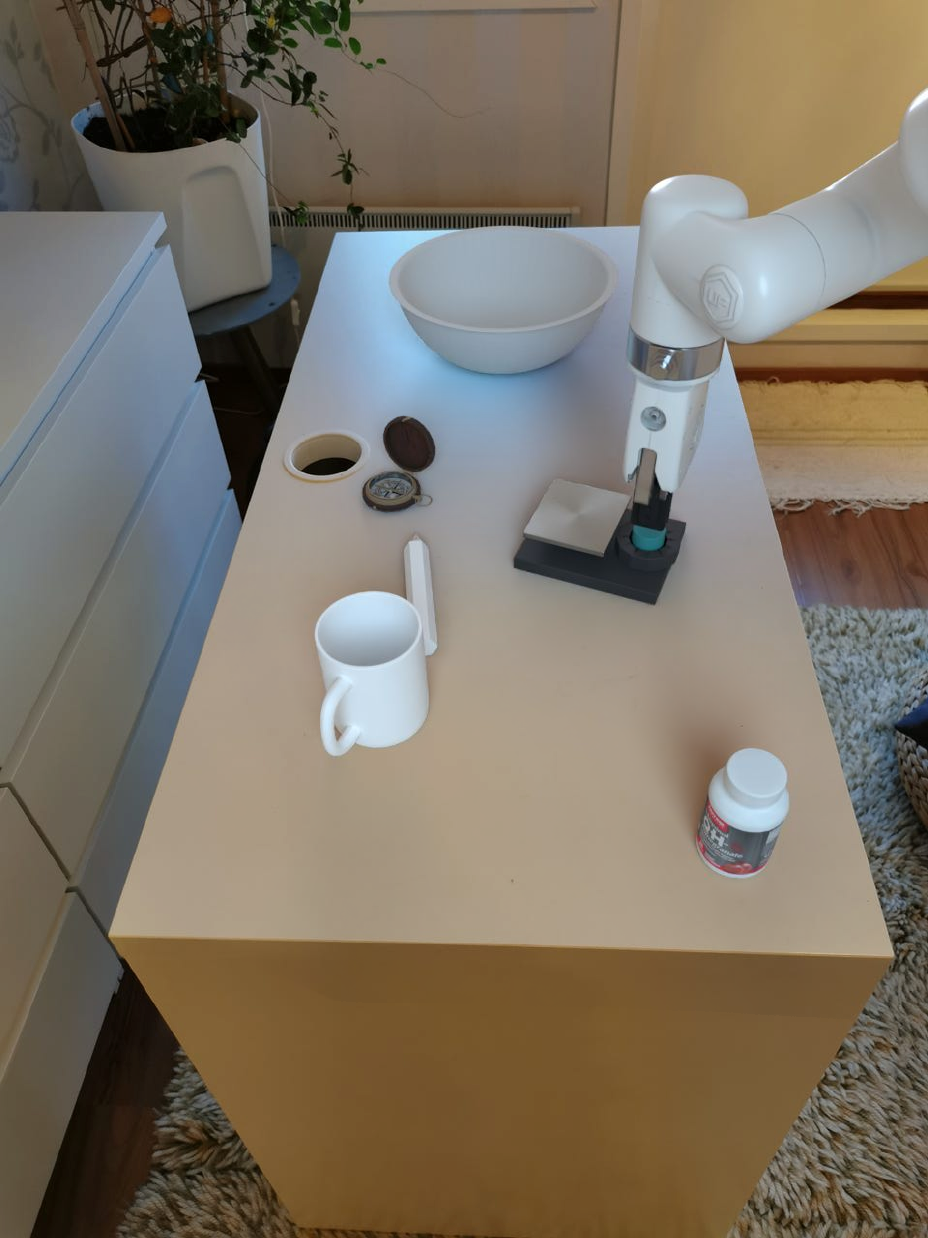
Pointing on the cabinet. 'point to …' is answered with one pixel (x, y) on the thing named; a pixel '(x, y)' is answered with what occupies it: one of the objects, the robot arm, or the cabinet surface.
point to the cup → (371, 671)
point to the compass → (401, 466)
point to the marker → (421, 588)
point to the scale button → (648, 538)
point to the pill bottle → (743, 814)
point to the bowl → (503, 295)
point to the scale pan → (578, 517)
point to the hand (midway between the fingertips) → (649, 522)
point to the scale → (608, 563)
